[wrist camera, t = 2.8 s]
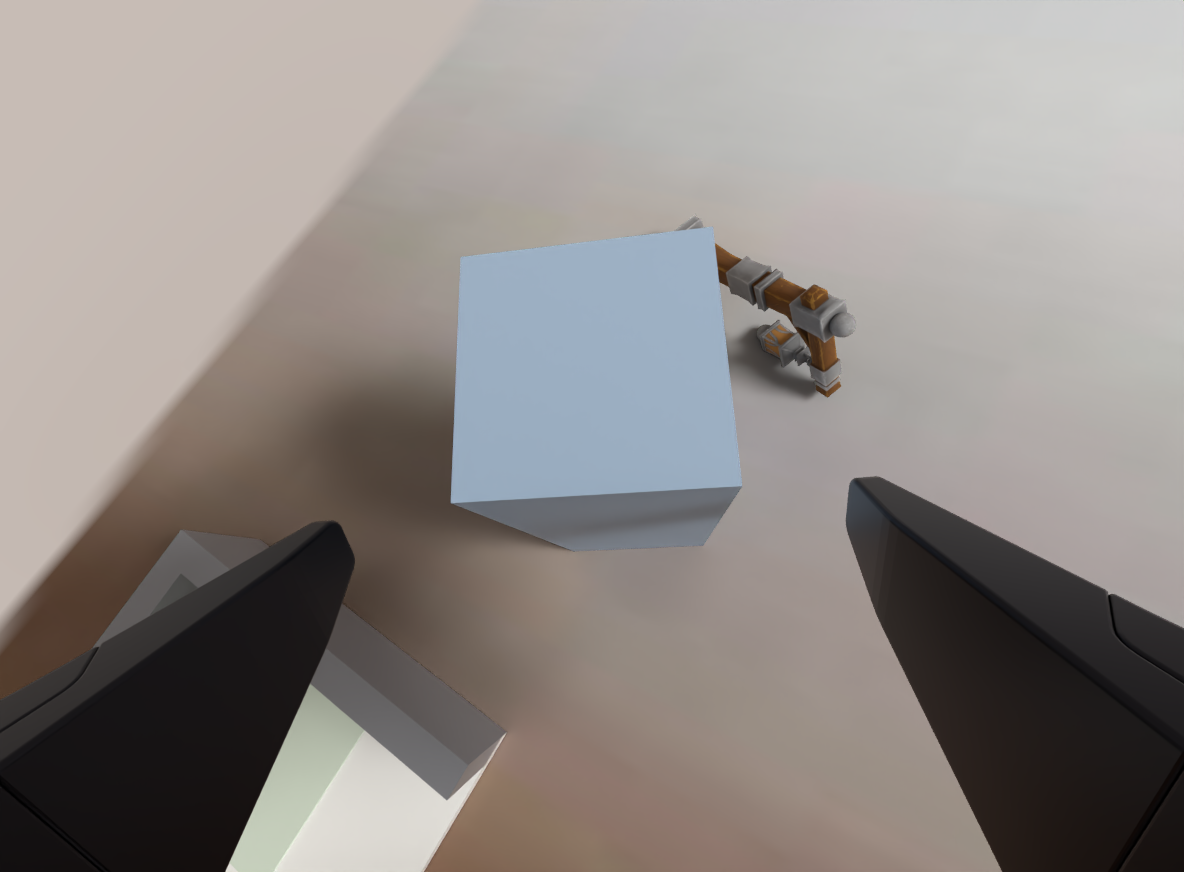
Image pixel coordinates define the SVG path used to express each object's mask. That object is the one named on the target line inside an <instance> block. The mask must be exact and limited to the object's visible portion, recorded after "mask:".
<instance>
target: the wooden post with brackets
mask: <svg viewBox="0 0 1184 872" xmlns="http://www.w3.org/2000/svg"><path fill="white" fill-rule="evenodd" d="M698 228H703V224H702V220H701V219H699V218H697V217H696V214H695V215H694V216H692V217H691V218H690V219H689V220H687V221H686V222H685V223H683V224H682V225H681V226H680V227H678V228H677V229H676V230H675V231H681V230H689V229H698ZM715 250H716V259H717V268H718V277H719V282H720V283H722V284H724V285H726V286H728V287H729V288H730V292H731V294H735V295H738V296H740V297H742V298H744V299H745V300H747V301H749V302H750V303H751V304H752V305H754V304H756V303H757V305H758V309H762V310H763V311H764V312H765V311H766V310H767V309H768V308H771V309H773V310H775V311H777V312H779V313H782V314H784V315H786V316H787V317H788V318H789V320H790V321H791V323H792V324H793V326H794V327H795V329H796V330H797V333H793V332H791V331H790V330H788V329H787V328H786V327H784V326H783V325H782V324H781V323H780V320H777V321H776V322H775V323H774V324H773V325H771V326H770V325H762V326H760V327H759V328H758V330H757V337H758V338H759V340H760V341H761V346H762V350H763V351H766V352H767V353H770V354H772V355H774V356H776V357H778V358H780V360H781V366H782V367H783V368H784V367H785V366H786V365H788V364H789V363H790V362H791V361H793V360H794V359H795V362H796V361H797V363H798V366H800V365H801V364H802V363H804V362H806V363H807V365H808V366H809V367H810V372H811V378H813V379H815V381H814V384H816V390H817V391H818V392H820V393H821V394H823V395H825V396H826V397H829V396H830V395H831V394H832V393H834V392H835V391H836V390H837V389H838V388H840V387H841V385H840V380H841V379H840V377H839V375H840V374H842V370H841V361H840V359H838V358H837V356H836V347H835V339H834V336H837V337H847V336H849V335H851V334H852V333H853V332H854V330H855V328H856V320H855V318H854V317H853V315H851V314H849V313H847V304H846V300H843V299H838V298H835V297H833V296H831V295H829V294H828V292H827V290H825V289H823V288H821V287H819V286H817V285H812V286H811V287H810V288H808V289H807V290H806V289H804V288H802V287H800V286H798V285H795V284H793V283H791V282H789V281H787V280H785V279H784V278H783V272H780V271H778V270H777V269H776V270H774V271H773V272H772V271H771V266H766V265H762V264H759V263H757V262H755V261H752V260H751V259H750V258H749V257H747V256H746V257H745V258H744V259H743V260H742V259H740V258H738V257H736V256H734V255H732V254H730V253H728V252H727V251H726V250H724V249H723V248H721V247H720V246H718V245H717V244H715ZM804 342H805V343H806V345H807V347H806V348H805V346H804ZM810 353H811V355H810ZM808 359H809V360H808Z"/></svg>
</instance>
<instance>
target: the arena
mask: <svg viewBox="0 0 1184 872" xmlns="http://www.w3.org/2000/svg"><path fill="white" fill-rule="evenodd" d="M267 548H269V546H268V545H267V544H265V543H264V542H263V541H262V540H260V539H254V538H246V537H238V536H230V535H222V534H214V533H206V532H197V531H189V530H180V532H179V533H178V534H177V536H176V537H175V538H174V540H173V541H172V542H171V544H170V545H169V546H168V548H167V549H166V550H165V552H164V553H163V554H162V556H161V557H160V558H159V560H158V561H157V562H156V564H155V565H154V566H153V568H152V569H151V570H150V572H149V573H148V574H147V576H146V577H145V578H144V580H143V581H142V582H141V584H140V585H139V586H138V588H137V589H136V590H135V592H134V593H133V594H132V596H131V597H130V598H129V600H128V601H127V602H126V604H125V605H124V606H123V608H122V609H121V610H120V612H119V613H118V614H117V616H116V617H115V618H114V620H113V621H112V622H111V624H110V625H109V626H108V628H107V629H106V630H105V632H104V633H103V634H102V636H101V637H100V638H99V640H98V641H97V642H96V644H95V645H94V646H93V648H94V647H100V645H101V644H102V643H103V642H105V641H107V640H108V639H110V638H112V637H113V636H115V635H117V634H119V633H120V632H122V631H124V630H126V629H127V628H129V627H131V626H133V625H134V624H136V623H138V622H140V621H141V620H143V619H145V618H147V617H148V616H150V615H152V614H154V613H155V612H157V611H159V610H161V609H162V608H164V607H166V606H168V605H169V604H171V603H173V602H175V601H176V600H178V599H180V598H181V597H183V596H185V595H187V594H188V593H190V592H192V591H194V590H195V589H197V588H199V587H201V586H202V585H204V584H206V583H208V582H209V581H211V580H213V579H215V578H216V577H218V576H220V575H222V574H223V573H225V572H227V571H229V570H230V569H232V568H234V567H236V566H237V565H239V564H241V563H242V562H244V561H246V560H248V559H249V558H251V557H253V556H255V555H256V554H258V553H260V552H262V551H263V550H265V549H267ZM506 733H507V732H506V731H505V730H504V729H502V728H501V727H500V726H498V725H497V724H496V723H495V722H493V721H492V720H491V719H490V718H488V717H487V716H486V715H484V714H483V713H482V712H481V711H479V710H478V709H477V708H475V707H474V706H473V705H472V704H470V703H469V702H468V701H466V700H465V699H464V698H463V697H461V696H460V695H459V694H458V693H456V692H455V691H454V690H452V689H451V688H450V687H449V686H447V685H446V684H445V683H443V682H442V681H441V680H440V679H438V678H437V677H436V676H434V675H433V674H432V673H431V672H429V671H428V670H427V669H425V668H424V667H423V666H422V665H420V664H419V663H418V662H417V661H415V660H414V659H413V658H411V657H410V656H409V655H408V654H406V653H405V652H404V651H402V650H401V649H400V648H399V647H397V646H396V645H395V644H393V643H392V642H391V641H390V640H388V639H387V638H386V637H385V636H383V635H382V634H381V633H379V632H378V631H377V630H376V629H374V628H373V627H372V626H370V625H369V624H368V623H367V622H365V621H364V620H363V619H361V618H360V617H359V616H358V615H356V614H355V613H354V612H352V611H351V610H350V609H349V608H347V607H346V606H345V605H344V604H342V605H341V608H340V611H339V614H338V617H337V620H336V623H335V626H334V629H333V632H332V634H331V637H330V640H329V643H328V645H327V647H326V650H325V652H324V654H323V657H322V659H321V661H320V663H319V665H318V668H317V670H316V672H315V674H314V677H313V679H312V681H311V683H310V685H309V688H308V690H307V692H306V694H305V697H304V699H303V701H302V703H301V705H300V708H299V710H298V712H297V714H296V716H295V719H294V721H293V723H292V725H291V728H290V730H289V732H288V734H287V736H286V739H285V741H284V743H283V745H282V747H281V750H280V752H279V754H278V756H277V759H276V761H275V763H274V765H273V767H272V770H271V772H270V774H269V776H268V779H267V781H266V783H265V785H264V787H263V790H262V792H261V794H260V796H259V798H258V801H257V803H256V805H255V807H254V810H253V812H252V814H251V816H250V818H249V821H248V823H247V825H246V827H245V829H244V832H243V834H242V836H241V838H240V841H239V843H238V845H237V847H236V849H235V852H234V854H233V856H232V858H231V860H230V863H229V865H228V867H227V869H226V872H424V871H425V869H426V867H427V866H428V864H429V862H430V861H431V859H432V857H433V855H434V854H435V852H436V850H437V849H438V847H439V845H440V844H441V842H442V840H443V839H444V837H445V835H446V834H447V832H448V830H449V829H450V827H451V825H452V824H453V822H454V820H455V819H456V817H457V815H458V814H459V812H460V810H461V809H462V807H463V805H464V803H465V802H466V800H467V798H468V797H469V795H470V793H471V792H472V790H473V788H474V787H475V785H476V783H477V782H478V780H479V778H480V777H481V775H482V773H483V772H484V770H485V768H486V767H487V765H488V763H489V762H490V760H491V758H492V757H493V755H494V753H495V752H496V750H497V748H498V746H499V745H500V743H501V741H502V740H503V738H504V736H505V735H506Z"/></svg>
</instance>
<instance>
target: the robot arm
mask: <svg viewBox="0 0 1184 872" xmlns="http://www.w3.org/2000/svg"><path fill="white" fill-rule="evenodd" d="M846 527H847V532H848V535H849V538H850V541H851V544H852V547H853V550H854V553H855V555H856V558H857V561H858V564H859V567H860V570H861V573H862V576H863V578H864V581H865V584H866V587H867V590H868V593H869V596H870V598H871V601H872V604H873V607H874V609H875V612H876V614H877V617H878V619H879V621H880V623H881V625H882V628H883V630H884V632H885V634H886V636H887V638H888V640H889V642H890V644H891V646H892V648H893V650H894V652H895V654H896V656H897V658H898V660H899V662H900V664H901V666H902V668H903V670H904V673H905V675H906V677H907V679H908V681H909V683H910V685H911V687H912V689H913V691H914V693H915V695H916V697H917V699H918V701H919V703H920V705H921V707H922V709H923V711H924V713H925V715H926V717H927V719H928V721H929V723H930V725H931V728H932V730H933V732H934V734H935V736H936V738H937V740H938V742H939V744H940V746H941V748H942V750H943V752H944V754H945V756H946V758H947V760H948V762H949V764H950V766H951V768H952V770H953V772H954V774H955V776H956V778H957V780H958V783H959V785H960V787H961V789H962V791H963V793H964V795H965V797H966V799H967V801H968V803H969V805H970V807H971V809H972V811H973V813H974V815H975V817H976V819H977V821H978V823H979V825H980V827H981V829H982V831H983V833H984V835H985V838H986V840H987V842H988V844H989V846H990V848H991V850H992V852H993V854H994V856H995V858H996V860H997V862H998V864H999V866H1000V868H1001V870H1002V872H1184V628H1182V627H1180V626H1178V625H1176V624H1174V623H1172V622H1170V621H1168V620H1166V619H1164V618H1162V617H1160V616H1157V615H1155V614H1153V613H1151V612H1149V611H1147V610H1145V609H1143V608H1141V607H1139V606H1137V605H1135V604H1133V603H1131V602H1129V601H1127V600H1125V599H1123V598H1121V597H1119V596H1117V595H1115V594H1110V595H1109V596H1108V592H1107V591H1106V590H1105V589H1103V588H1101V587H1099V586H1097V585H1095V584H1093V583H1091V582H1089V581H1087V580H1085V579H1083V578H1081V577H1079V576H1077V575H1075V574H1073V573H1071V572H1069V571H1067V570H1065V569H1063V568H1061V567H1059V566H1057V565H1055V564H1053V563H1051V562H1049V561H1047V560H1045V559H1043V558H1041V557H1039V556H1037V555H1035V554H1033V553H1031V552H1029V551H1027V550H1025V549H1023V548H1021V547H1019V546H1017V545H1015V544H1013V543H1011V542H1009V541H1007V540H1005V539H1003V538H1001V537H999V536H997V535H995V534H993V533H991V532H989V531H987V530H985V529H983V528H981V527H979V526H977V525H975V524H973V523H971V522H969V521H967V520H965V519H963V518H961V517H959V516H957V515H955V514H953V513H951V512H949V511H947V510H945V509H943V508H941V507H939V506H937V505H935V504H933V503H931V502H929V501H927V500H925V499H923V498H921V497H919V496H917V495H915V494H913V493H911V492H909V491H907V490H905V489H903V488H901V487H899V486H897V485H895V484H893V483H891V482H889V481H887V480H885V479H883V478H881V477H876V476H875V477H863V478H854V479H853V480H852V481H851V483H850V485H849V492H848V503H847V513H846ZM354 564H355V558H354V554H353V551H352V549H351V547H350V545H349V543H348V540H347V538H346V536H345V534H344V532H343V530H342V527H341V526H340V524H339V523H338V522H336V521H333V520H331V521H318V522H313V523H311V524H309V525H307V526H305V527H303V528H302V529H300V530H298V531H297V532H295V533H293V534H291V535H290V536H288V537H286V538H284V539H283V540H281V541H279V542H277V543H276V544H274V545H272V546H270V547H269V548H267V549H265V550H263V551H262V552H260V553H258V554H256V555H255V556H253V557H251V558H249V559H248V560H246V561H244V562H242V563H241V564H239V565H237V566H236V567H234V568H232V569H230V570H229V571H227V572H225V573H223V574H222V575H220V576H218V577H216V578H215V579H213V580H211V581H209V582H208V583H206V584H204V585H202V586H201V587H199V588H197V589H195V590H194V591H192V592H190V593H188V594H187V595H185V596H183V597H181V598H180V599H178V600H176V601H175V602H173V603H171V604H169V605H168V606H166V607H164V608H162V609H161V610H159V611H157V612H155V613H154V614H152V615H150V616H148V617H147V618H145V619H143V620H141V621H140V622H138V623H136V624H134V625H133V626H131V627H129V628H127V629H126V630H124V631H122V632H120V633H119V634H117V635H115V636H113V637H112V638H110V639H108V640H107V641H105V642H103V643H102V644H101V645H100V647H94V648H92V649H91V650H89V651H87V652H85V653H84V654H82V655H80V656H78V657H77V658H75V659H73V660H71V661H70V662H68V663H66V664H64V665H63V666H61V667H59V668H57V669H56V670H54V671H52V672H50V673H48V674H47V675H45V676H43V677H41V678H39V679H38V680H36V681H34V682H32V683H31V684H29V685H27V686H25V687H23V688H21V689H20V690H18V691H16V692H14V693H12V694H10V695H8V696H7V697H5V698H3V699H1V700H0V872H226V869H227V867H228V865H229V863H230V860H231V858H232V856H233V854H234V852H235V849H236V847H237V845H238V843H239V841H240V838H241V836H242V834H243V832H244V829H245V827H246V825H247V823H248V821H249V818H250V816H251V814H252V812H253V810H254V807H255V805H256V803H257V801H258V798H259V796H260V794H261V792H262V790H263V787H264V785H265V783H266V781H267V779H268V776H269V774H270V772H271V770H272V767H273V765H274V763H275V761H276V759H277V756H278V754H279V752H280V750H281V747H282V745H283V743H284V741H285V739H286V736H287V734H288V732H289V730H290V728H291V725H292V723H293V721H294V719H295V716H296V714H297V712H298V710H299V708H300V705H301V703H302V701H303V699H304V697H305V694H306V692H307V690H308V688H309V685H310V683H311V681H312V679H313V677H314V674H315V672H316V670H317V668H318V665H319V663H320V661H321V659H322V657H323V654H324V652H325V650H326V647H327V645H328V643H329V640H330V637H331V634H332V632H333V629H334V626H335V623H336V620H337V617H338V614H339V611H340V608H341V605H342V602H343V599H344V596H345V593H346V590H347V587H348V584H349V581H350V578H351V575H352V572H353V569H354Z"/></svg>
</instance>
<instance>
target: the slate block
mask: <svg viewBox="0 0 1184 872" xmlns="http://www.w3.org/2000/svg"><path fill="white" fill-rule="evenodd" d="M741 487H742V480H741V471H740V462H739V453H738V444H737V435H736V427H735V418H734V409H733V400H732V391H731V383H730V374H729V365H728V356H727V347H726V338H725V330H724V321H723V312H722V303H721V294H720V285H719V277H718V268H717V259H716V250H715V241H714V232H713V227H706V228H698V229H689V230H681V231H673V232H664V233H656V234H648V235H639V236H631V237H623V238H614V239H606V240H598V241H590V242H581V243H573V244H565V245H556V246H548V247H540V248H531V249H523V250H515V251H506V252H498V253H490V254H481V255H473V256H465V257H461V263H460V288H459V312H458V337H457V361H456V386H455V410H454V435H453V459H452V484H451V504H454V505H457V506H459V507H462V508H464V509H467V510H469V511H472V512H474V513H477V514H480V515H482V516H485V517H487V518H490V519H492V520H495V521H497V522H500V523H503V524H505V525H508V526H510V527H513V528H515V529H518V530H520V531H523V532H526V533H528V534H531V535H533V536H536V537H538V538H541V539H543V540H546V541H549V542H551V543H554V544H556V545H559V546H561V547H564V548H566V549H569V550H572V551H592V550H614V549H636V548H659V547H681V546H703V545H704V543H705V542H706V540H707V539H708V537H709V536H710V534H711V533H712V531H713V530H714V528H715V527H716V525H717V524H718V522H719V521H720V519H721V518H722V516H723V515H724V513H725V512H726V510H727V509H728V507H729V506H730V504H731V502H732V501H733V499H734V498H735V496H736V495H737V493H738V492H739V490H740V489H741Z"/></svg>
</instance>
